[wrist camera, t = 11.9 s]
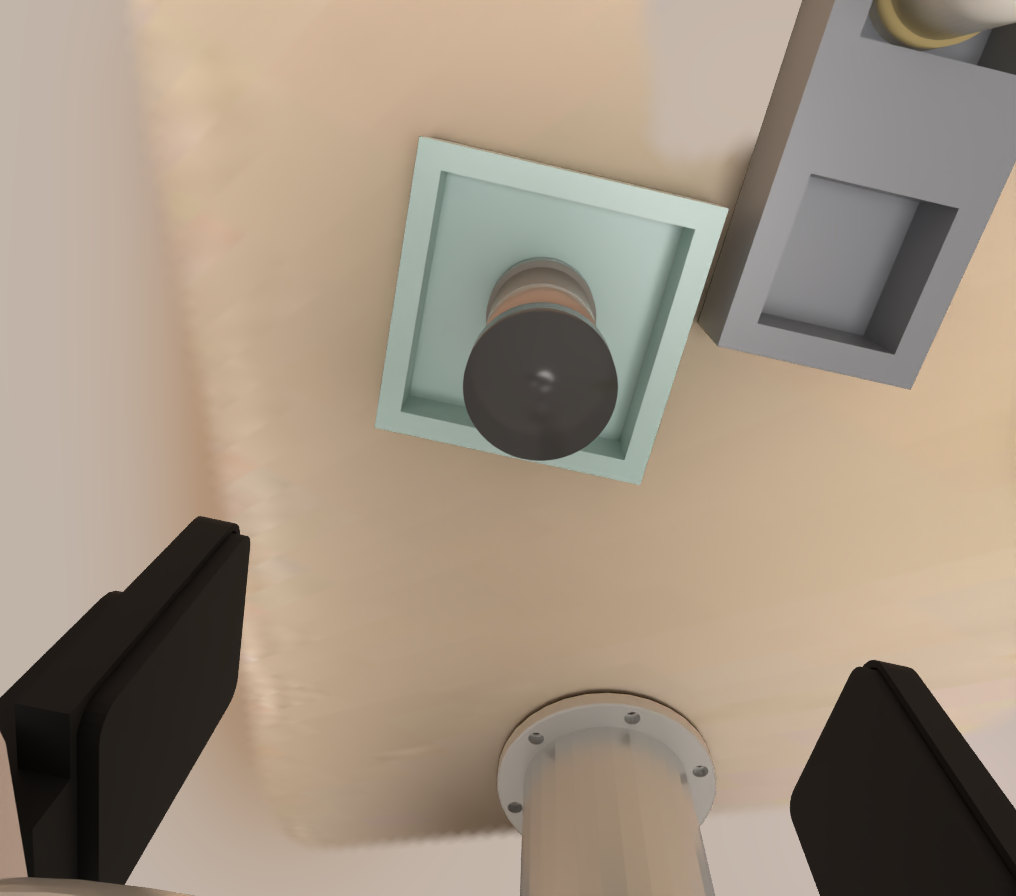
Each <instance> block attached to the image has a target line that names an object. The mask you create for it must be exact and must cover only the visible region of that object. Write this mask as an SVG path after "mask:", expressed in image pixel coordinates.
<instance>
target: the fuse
mask: <svg viewBox="0 0 1016 896" xmlns="http://www.w3.org/2000/svg"><path fill="white" fill-rule="evenodd" d="M868 14H869V17H870V20H871V22H872V24H873V26H874V28H875V29H876V30H877V32H878V33H879V34H880V35H881V37H882V38H883V39H884V40H886V41H887V42H888V43H890V44H892V45H896V46H900V47H904V48H908V49H912V50H916V51H929V50H933V49H937V48H941V47H946V46H950V45H954V44H957V43H960V42H963V41H965V40H968V39H970V38H971V37H973V36H975V35H977V34H978V33H980V32H981V31H984V30H988V29H992V28H996V27H1000V26H1004V25H1008V24H1012V23H1016V0H873V1H872V4H871V7H870V10H869V13H868Z"/></svg>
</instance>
